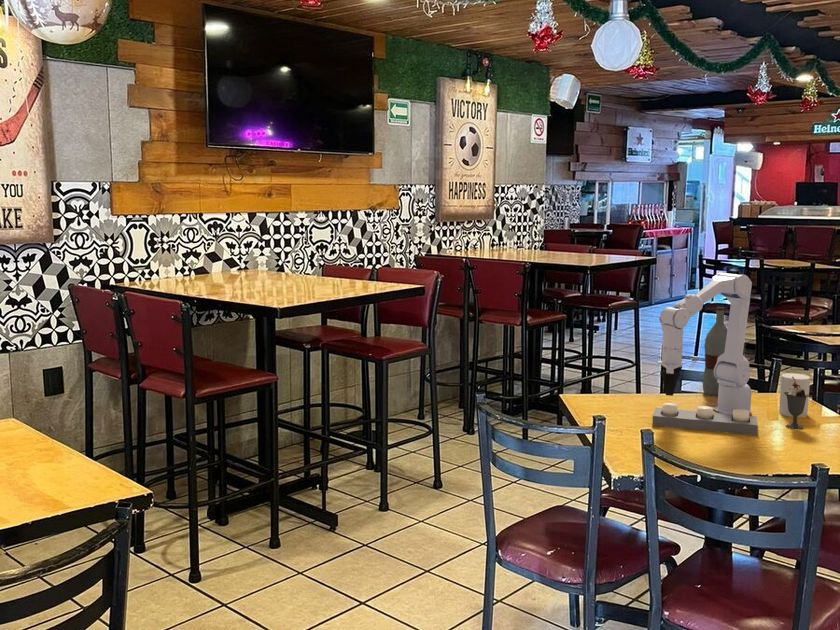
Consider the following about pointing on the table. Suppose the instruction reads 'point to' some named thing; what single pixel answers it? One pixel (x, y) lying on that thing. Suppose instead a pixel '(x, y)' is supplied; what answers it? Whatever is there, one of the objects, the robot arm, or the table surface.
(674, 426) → the control strip
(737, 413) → the button
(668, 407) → the button
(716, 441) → the table surface
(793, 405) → the sundae
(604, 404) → the table surface
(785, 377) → the cup
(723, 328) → the bottle
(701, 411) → the button mid
